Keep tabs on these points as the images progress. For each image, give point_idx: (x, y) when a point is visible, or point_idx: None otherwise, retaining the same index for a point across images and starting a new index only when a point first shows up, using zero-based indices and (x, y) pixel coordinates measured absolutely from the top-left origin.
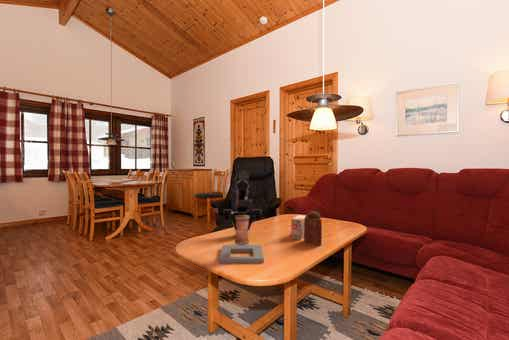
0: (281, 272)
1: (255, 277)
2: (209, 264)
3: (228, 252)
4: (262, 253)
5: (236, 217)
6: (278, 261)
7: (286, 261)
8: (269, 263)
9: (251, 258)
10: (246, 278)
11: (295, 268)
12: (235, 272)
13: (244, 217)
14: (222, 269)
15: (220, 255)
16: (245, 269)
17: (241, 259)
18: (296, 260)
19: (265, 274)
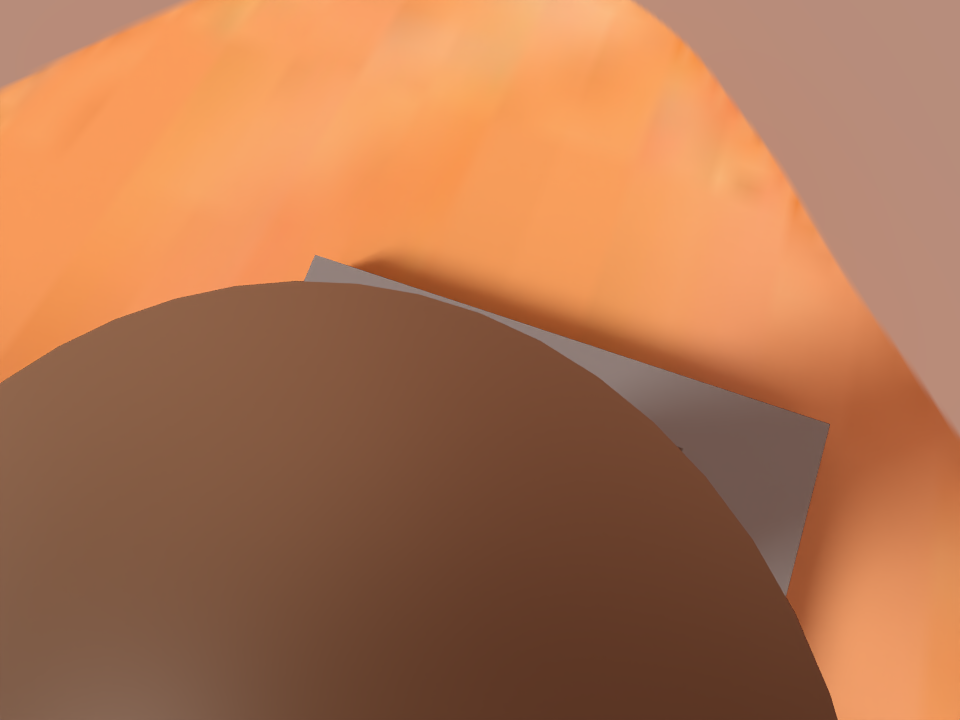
0: (291, 40)
1: (541, 22)
2: (924, 442)
3: None
4: None
5: (809, 701)
6: (177, 257)
7: (107, 231)
8: (286, 243)
9: (446, 301)
10: (622, 28)
11: (135, 71)
12: (683, 160)
13: (304, 345)
14: (796, 264)
15: (796, 540)
16: (569, 191)
17: (559, 336)
18: (6, 221)
19: (437, 46)
